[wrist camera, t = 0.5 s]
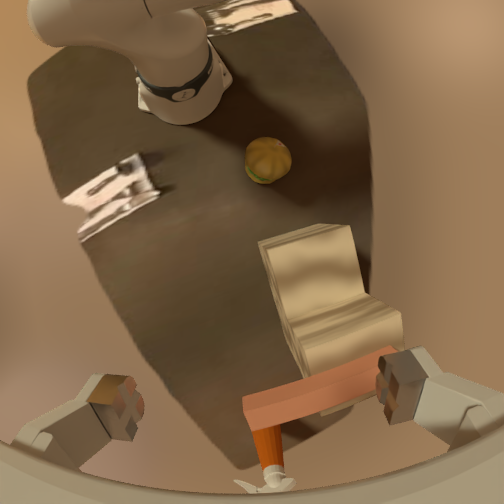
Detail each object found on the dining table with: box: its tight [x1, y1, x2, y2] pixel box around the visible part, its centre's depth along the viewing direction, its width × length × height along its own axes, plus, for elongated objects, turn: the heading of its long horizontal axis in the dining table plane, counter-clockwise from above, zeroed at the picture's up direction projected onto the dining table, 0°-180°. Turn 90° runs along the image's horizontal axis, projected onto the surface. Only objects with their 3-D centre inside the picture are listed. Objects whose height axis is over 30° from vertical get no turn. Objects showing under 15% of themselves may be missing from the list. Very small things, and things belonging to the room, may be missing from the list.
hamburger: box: [245, 137, 292, 184], centre depth 48 cm, size 8×7×12 cm
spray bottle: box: [234, 424, 296, 494], centre depth 46 cm, size 7×11×26 cm, turn 111°
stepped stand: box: [258, 224, 405, 417], centre depth 44 cm, size 20×12×26 cm, turn 16°
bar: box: [242, 345, 398, 431], centre depth 30 cm, size 3×18×3 cm, turn 106°
